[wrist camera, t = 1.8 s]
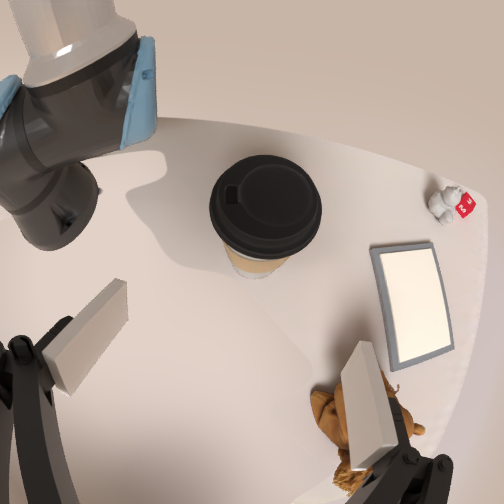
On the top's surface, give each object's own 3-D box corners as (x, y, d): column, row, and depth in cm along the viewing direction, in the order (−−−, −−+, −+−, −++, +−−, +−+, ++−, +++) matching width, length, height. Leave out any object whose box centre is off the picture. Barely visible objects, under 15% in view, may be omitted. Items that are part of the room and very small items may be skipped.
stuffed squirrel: (380, 364, 31) (445, 362, 19) (383, 457, 27) (439, 487, 14) (307, 378, 31) (350, 391, 18) (313, 476, 26) (350, 525, 13)
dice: (457, 199, 42) (466, 191, 39) (467, 210, 41) (476, 203, 39) (453, 206, 41) (462, 198, 38) (462, 218, 41) (472, 211, 38)
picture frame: (369, 250, 37) (372, 247, 36) (429, 244, 38) (433, 242, 37) (390, 371, 31) (394, 371, 30) (451, 349, 32) (455, 348, 31)
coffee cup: (204, 243, 36) (187, 174, 22) (267, 212, 38) (284, 135, 24) (241, 308, 33) (246, 274, 19) (306, 270, 35) (350, 216, 21)
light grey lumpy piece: (443, 200, 41) (468, 177, 34) (449, 233, 39) (477, 212, 32) (421, 193, 41) (445, 168, 34) (427, 227, 39) (455, 204, 32)
